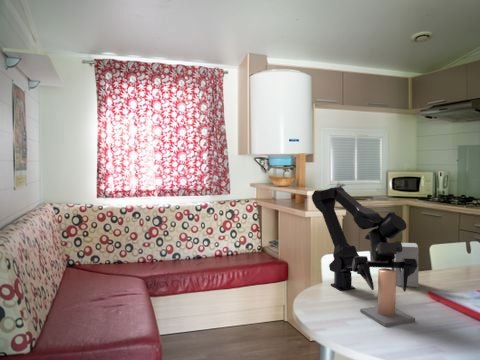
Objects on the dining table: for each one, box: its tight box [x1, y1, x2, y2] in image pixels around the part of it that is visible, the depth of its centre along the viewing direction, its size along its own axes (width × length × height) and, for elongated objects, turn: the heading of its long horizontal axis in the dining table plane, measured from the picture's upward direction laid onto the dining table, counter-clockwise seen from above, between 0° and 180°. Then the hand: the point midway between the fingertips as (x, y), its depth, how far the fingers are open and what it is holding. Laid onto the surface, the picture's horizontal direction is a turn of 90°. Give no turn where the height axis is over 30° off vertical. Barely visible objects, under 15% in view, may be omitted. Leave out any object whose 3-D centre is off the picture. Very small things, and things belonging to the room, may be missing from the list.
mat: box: [359, 305, 416, 328], centre depth 112 cm, size 11×11×1 cm
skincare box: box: [393, 242, 420, 288], centre depth 142 cm, size 8×7×16 cm
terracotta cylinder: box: [377, 268, 397, 316], centre depth 112 cm, size 5×5×13 cm
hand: (388, 290), depth 110 cm, fingers open, 9 cm apart
